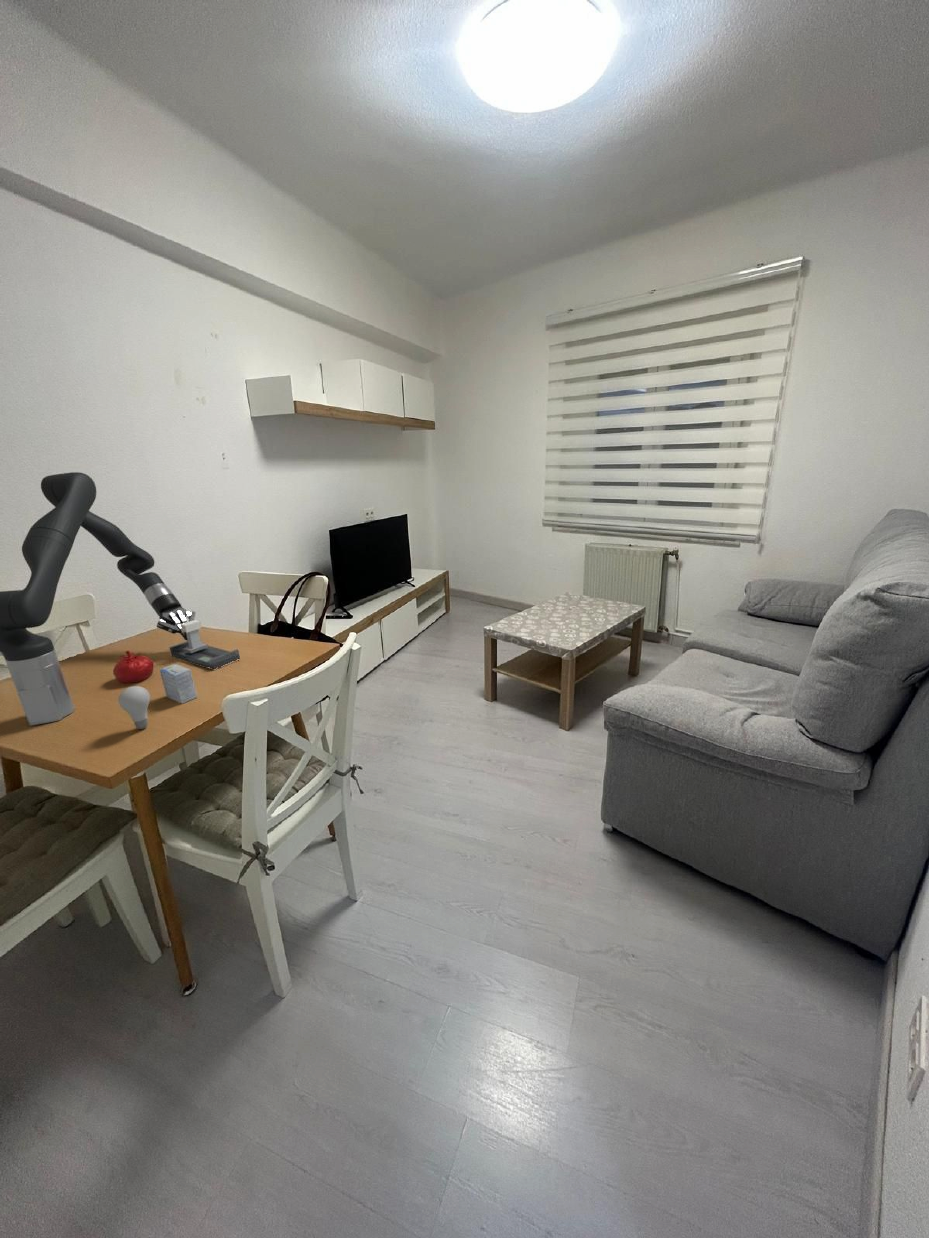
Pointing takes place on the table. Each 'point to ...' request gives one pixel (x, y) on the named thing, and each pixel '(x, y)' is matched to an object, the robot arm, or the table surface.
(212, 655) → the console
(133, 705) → the lightbulb
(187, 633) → the fader
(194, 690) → the medicine box
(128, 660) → the pomegranate
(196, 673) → the table surface
